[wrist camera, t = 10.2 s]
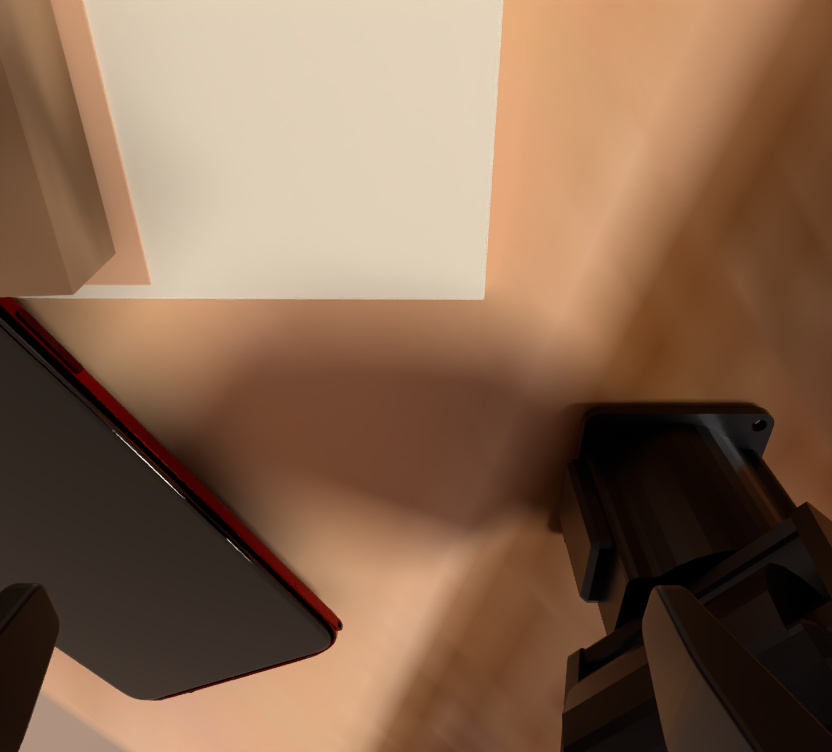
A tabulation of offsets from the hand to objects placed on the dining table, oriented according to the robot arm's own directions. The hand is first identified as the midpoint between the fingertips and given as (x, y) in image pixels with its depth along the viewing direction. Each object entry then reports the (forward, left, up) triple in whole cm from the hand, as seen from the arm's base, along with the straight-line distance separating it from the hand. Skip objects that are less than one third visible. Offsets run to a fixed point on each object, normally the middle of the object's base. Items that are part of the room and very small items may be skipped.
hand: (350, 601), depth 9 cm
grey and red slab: (+13, +8, -12) cm, 19 cm away
